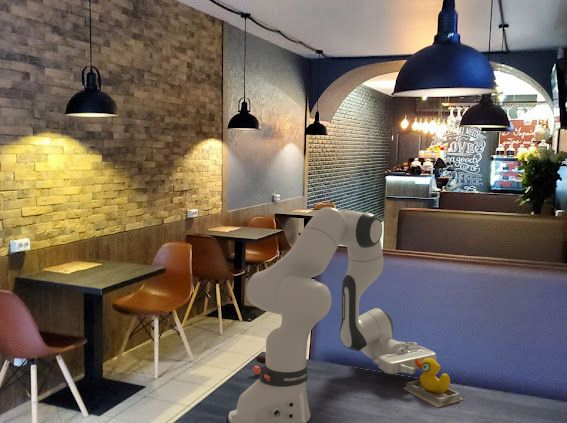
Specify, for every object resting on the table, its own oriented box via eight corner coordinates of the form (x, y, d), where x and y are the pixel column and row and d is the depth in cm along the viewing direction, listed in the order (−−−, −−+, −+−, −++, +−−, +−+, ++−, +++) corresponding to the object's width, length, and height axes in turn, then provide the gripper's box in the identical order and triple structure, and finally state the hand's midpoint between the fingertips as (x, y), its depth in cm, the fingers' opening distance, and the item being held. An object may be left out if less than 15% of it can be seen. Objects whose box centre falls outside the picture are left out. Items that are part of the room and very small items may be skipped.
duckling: (410, 388, 173) (411, 357, 172) (419, 382, 177) (419, 352, 175) (444, 399, 165) (445, 366, 164) (452, 393, 169) (453, 361, 168)
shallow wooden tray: (437, 407, 161) (437, 400, 160) (403, 388, 173) (403, 382, 173) (463, 400, 166) (463, 393, 166) (427, 382, 178) (428, 376, 178)
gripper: (370, 350, 178) (399, 364, 166) (418, 341, 188) (449, 354, 177) (369, 369, 179) (399, 385, 167) (417, 359, 189) (448, 373, 177)
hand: (425, 369), depth 172 cm, fingers open, 8 cm apart
